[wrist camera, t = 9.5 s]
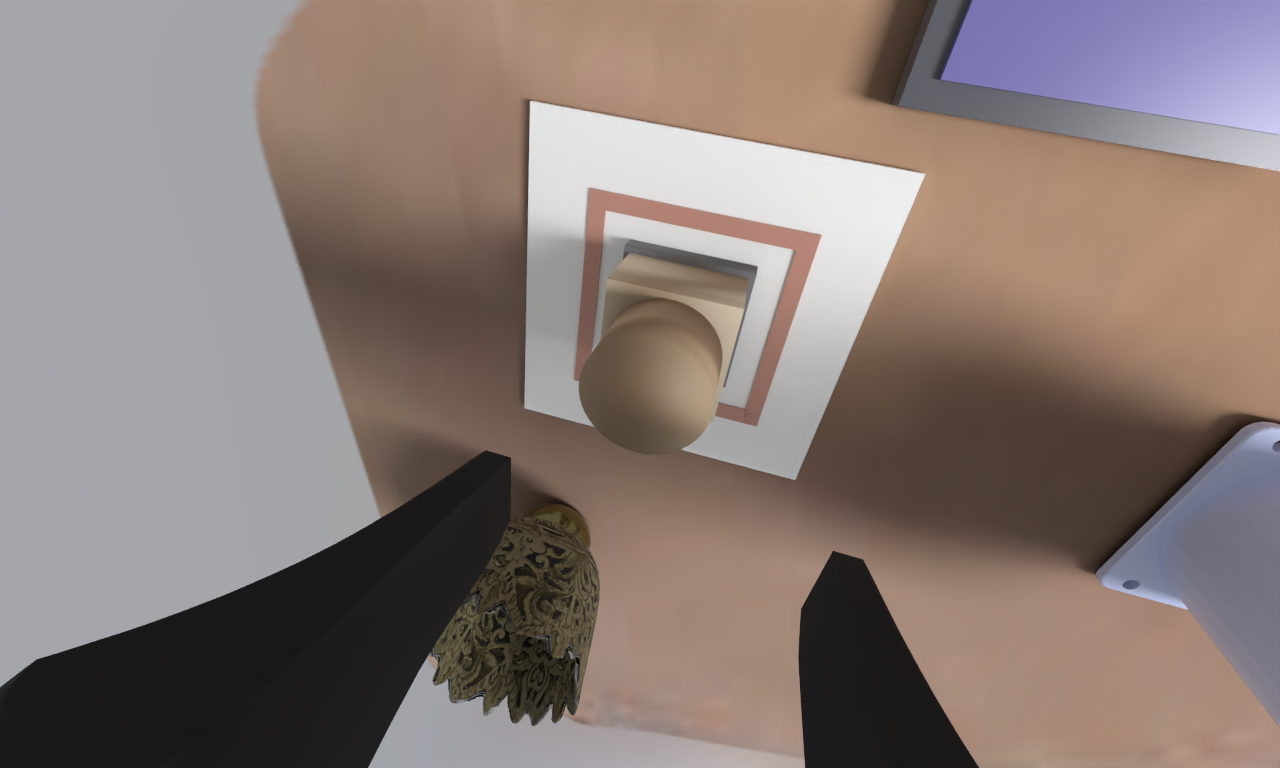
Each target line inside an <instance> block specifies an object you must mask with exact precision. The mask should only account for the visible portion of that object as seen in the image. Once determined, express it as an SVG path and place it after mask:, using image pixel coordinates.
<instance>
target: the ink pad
mask: <svg viewBox="0 0 1280 768" xmlns="http://www.w3.org/2000/svg"><path fill="white" fill-rule="evenodd" d="M891 105H894V106H899V107H905V108H911V109H917V110H923V111H929V112H935V113H940V114H946V115H952V116H958V117H964V118H970V119H976V120H982V121H987V122H993V123H999V124H1005V125H1011V126H1017V127H1023V128H1029V129H1035V130H1040V131H1046V132H1052V133H1058V134H1064V135H1070V136H1076V137H1082V138H1087V139H1093V140H1099V141H1105V142H1111V143H1117V144H1123V145H1129V146H1134V147H1140V148H1146V149H1152V150H1158V151H1164V152H1170V153H1176V154H1182V155H1187V156H1193V157H1199V158H1205V159H1211V160H1217V161H1223V162H1229V163H1234V164H1240V165H1246V166H1252V167H1258V168H1264V169H1270V170H1276V171H1280V0H929V2H928V5H927V7H926V10H925V13H924V16H923V18H922V21H921V24H920V27H919V29H918V32H917V35H916V38H915V40H914V43H913V46H912V49H911V51H910V54H909V57H908V60H907V62H906V65H905V68H904V71H903V73H902V76H901V79H900V82H899V84H898V87H897V90H896V93H895V95H894V98H893V101H892V104H891Z"/></svg>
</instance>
